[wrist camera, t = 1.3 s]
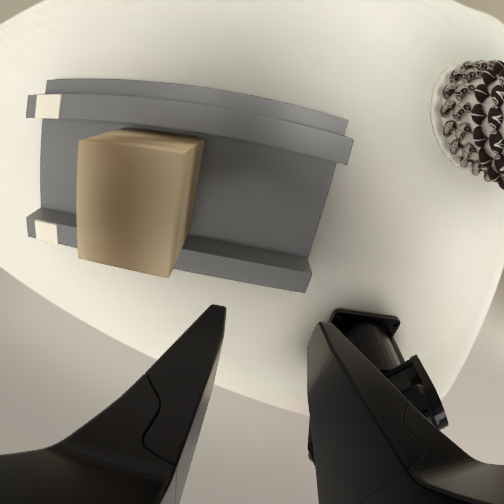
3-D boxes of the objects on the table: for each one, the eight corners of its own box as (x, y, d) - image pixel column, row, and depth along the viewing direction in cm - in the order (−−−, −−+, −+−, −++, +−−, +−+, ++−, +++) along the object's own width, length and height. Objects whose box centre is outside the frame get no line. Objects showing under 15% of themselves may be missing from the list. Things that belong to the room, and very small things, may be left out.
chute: (343, 119, 18) (359, 122, 15) (295, 281, 23) (301, 307, 20) (54, 79, 16) (28, 80, 13) (49, 231, 21) (28, 249, 18)
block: (205, 137, 17) (183, 153, 12) (190, 229, 20) (168, 278, 15) (127, 127, 17) (78, 140, 12) (119, 216, 20) (78, 258, 14)
